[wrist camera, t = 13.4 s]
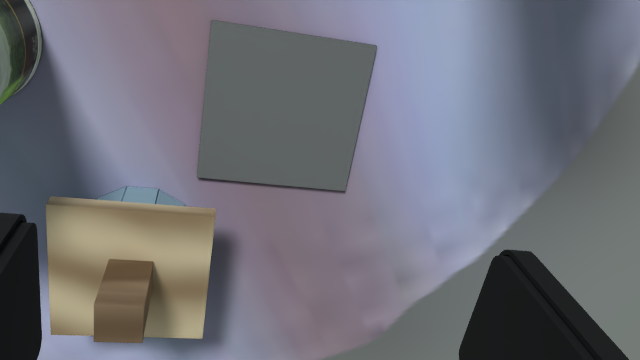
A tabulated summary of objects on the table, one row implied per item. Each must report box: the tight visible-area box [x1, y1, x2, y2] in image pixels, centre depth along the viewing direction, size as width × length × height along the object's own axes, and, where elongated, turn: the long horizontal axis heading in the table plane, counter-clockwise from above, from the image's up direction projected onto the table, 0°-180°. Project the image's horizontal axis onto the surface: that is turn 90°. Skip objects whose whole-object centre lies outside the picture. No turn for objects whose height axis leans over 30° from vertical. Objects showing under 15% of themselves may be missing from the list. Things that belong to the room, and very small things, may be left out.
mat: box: [197, 20, 377, 191], centre depth 41 cm, size 12×12×1 cm
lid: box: [46, 196, 216, 343], centre depth 37 cm, size 11×11×6 cm
